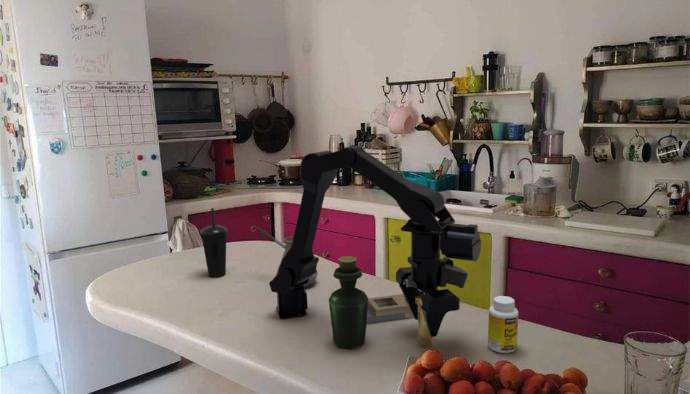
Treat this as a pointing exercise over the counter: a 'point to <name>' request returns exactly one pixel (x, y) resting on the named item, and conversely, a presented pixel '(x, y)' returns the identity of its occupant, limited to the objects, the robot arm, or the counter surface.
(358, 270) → the potion bottle
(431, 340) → the pin
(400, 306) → the knobbed window plate
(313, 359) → the counter surface
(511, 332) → the supplement bottle
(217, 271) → the drinking cup
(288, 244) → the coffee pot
